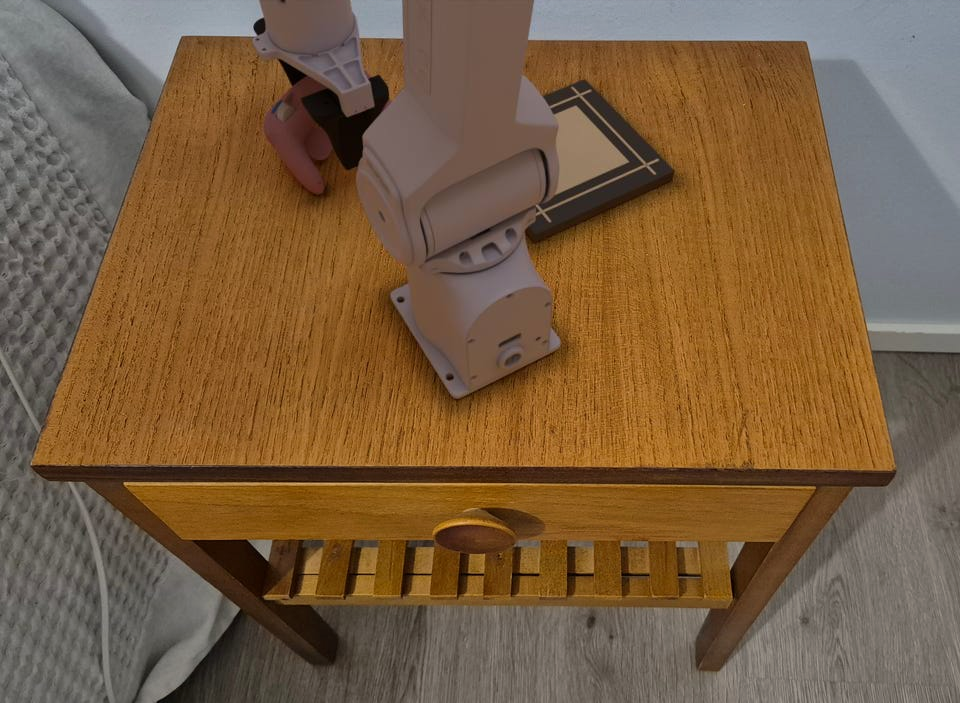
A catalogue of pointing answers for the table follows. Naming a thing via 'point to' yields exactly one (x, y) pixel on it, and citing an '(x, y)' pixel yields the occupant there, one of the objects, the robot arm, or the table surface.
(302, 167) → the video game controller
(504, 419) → the table surface
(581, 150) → the board
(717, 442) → the table surface
